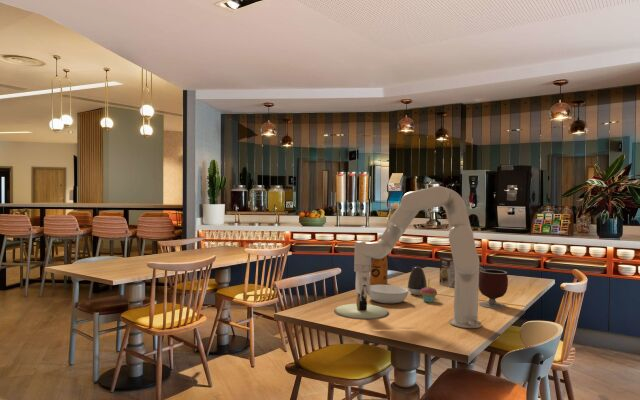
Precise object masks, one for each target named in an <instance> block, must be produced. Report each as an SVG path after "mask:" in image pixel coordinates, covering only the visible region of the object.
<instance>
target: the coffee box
mask: <svg viewBox="0 0 640 400" xmlns="http://www.w3.org/2000/svg"><path fill="white" fill-rule="evenodd" d="M438 284H439V285H442V286H445V287H447V288H455V265H454V261H453V258H448V257H443V258H441V257H440V258H439V283H438Z"/></svg>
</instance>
